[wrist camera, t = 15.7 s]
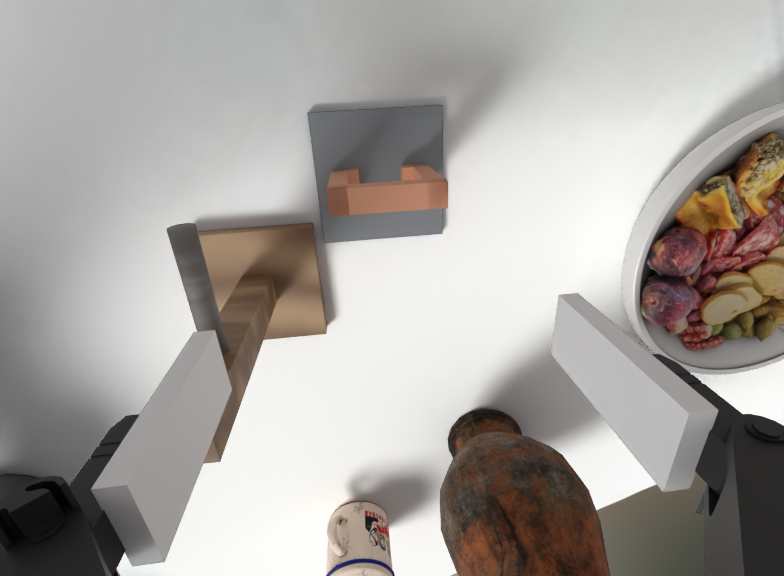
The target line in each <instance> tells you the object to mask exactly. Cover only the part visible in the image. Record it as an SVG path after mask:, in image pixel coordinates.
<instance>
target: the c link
mask: <svg viewBox="0 0 784 576" xmlns="http://www.w3.org/2000/svg"><path fill="white" fill-rule="evenodd" d="M326 191H327V199H328V207H329V215H330V217H334V216H347V215H360V214H373V213H386V212H399V211H412V210H425V209H438V208H448V181H447V180H446V179H444V178H443V177H442V176H441V175H440V174H438V173H437V172H436V171H435V170H434V169H432V168H431V167H430V166H429V165H428V164H416V165H401V181H391V182H377V183H363V184H360V183H359V172H358V169H343V170H331V174H330V178H329V182H328V186H327V190H326Z"/></svg>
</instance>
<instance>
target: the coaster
mask: <svg viewBox="0 0 784 576" xmlns="http://www.w3.org/2000/svg"><path fill="white" fill-rule="evenodd" d="M308 120H309V128H310V135H311V143H312V151H313V158H314V166H315V174H316V181H317V189H318V197H319V204H320V212H321V220H322V227H323V235H324V243H332V242H344V241H357V240H369V239H382V238H394V237H407V236H419V235H431V234H442V208H438V209H425V210H412V211H399V212H386V213H373V214H360V215H347V216H334V217H330V215H329V207H328V199H327V191H326V190H327V186H328V182H329V178H330V174H331V170H343V169H358V172H359V183H360V184H363V183H377V182H391V181H401V165H416V164H428V165H429V166H430V167H431V168H432V169H434V170H435V171H436V172H437V173H438V174H440V175H441V176H442V170H443V105H432V106H415V107H398V108H381V109H365V110H348V111H331V112H314V113H308Z"/></svg>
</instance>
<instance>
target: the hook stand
mask: <svg viewBox="0 0 784 576" xmlns="http://www.w3.org/2000/svg"><path fill="white" fill-rule="evenodd" d="M167 233H168V236H169V239H170V243H171V246H172V249H173V253H174V256H175V259H176V262H177V266H178V269H179V272H180V276H181V279H182V282H183V286H184V289H185V292H186V296H187V299H188V302H189V305H190V309H191V312H192V315H193V319H194V322H195V325H196V329H197V332H201V331H211V330H215V332H216V335H217V339H218V342H219V346H220V349H221V353H222V356H223V360H224V363H225V367H226V370H227V374H228V377H229V381H230V384H231V388H232V391H231V394H230V396H229V399H228V401H227V404H226V406H225V409H224V411H223V414H222V417H221V419H220V422H219V424H218V427H217V429H216V432H215V434H214V437H213V440H212V442H211V445H210V447H209V450H208V452H207V455H206V457H205V460H204V462H203V463H212V462H220V460H221V458H222V455H223V452H224V449H225V446H226V443H227V441H228V438H229V435H230V432H231V429H232V427H233V424H234V421H235V418H236V415H237V412H238V410H239V407H240V404H241V401H242V398H243V396H244V393H245V390H246V387H247V384H248V382H249V379H250V376H251V373H252V370H253V367H254V365H255V362H256V359H257V356H258V353H259V351H260V348H261V345H262V342H263V340H266V339H276V338H287V337H297V336H308V335H318V334H326V331H327V324H326V317H325V310H324V303H323V295H322V288H321V281H320V274H319V267H318V260H317V253H316V246H315V239H314V232H313V224H312V223H304V224H291V225H278V226H265V227H252V228H239V229H226V230H213V231H200V232H197V228H196V225H195V224H192V223H186V224H179V225H174V226H171V227H169V228H167Z"/></svg>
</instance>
